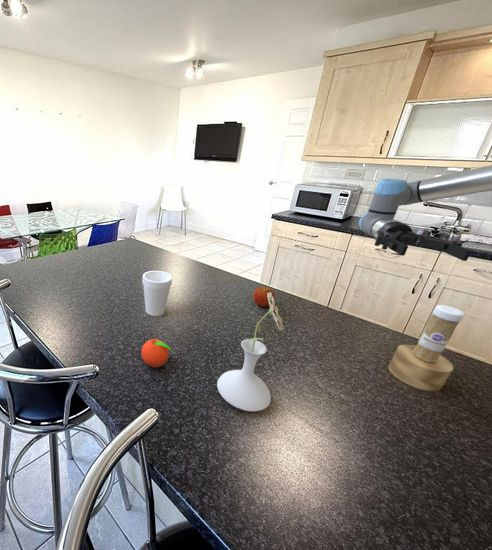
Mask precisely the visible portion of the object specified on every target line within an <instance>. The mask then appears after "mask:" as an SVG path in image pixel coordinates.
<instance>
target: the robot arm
mask: <svg viewBox="0 0 492 550" xmlns="http://www.w3.org/2000/svg"><path fill="white" fill-rule="evenodd" d="M491 191H492V164H490V165H485V166H481V167H476V168H471V169H468V170H461V171H458V172H452V173H449V174H444V175H439V176H434V177H430V178H426V179H425V178H424V179H422V180H421V179H420V180H416V181H412V182H408V181H407V180H406V179H400V178H381V179H380V180H379V182H378V183H377V185H376V187H375V189H374V193H373V196H372V199H371V202H370V206H369V208H368V210H367V213H364V215H362V216H361V217H360V218H359V220H358V227H359V229H360V230H361V231H362V232H363V233H365V234H367V235H368V236H371V237H373V239H374V240H375V242H374V246H376V247H380V245H381V250H386V251H387V250H388V249H389V250H391V251H392V252H395V253H396V254H397V255H400V256H405V255H406V253H407V250H408V248H409V246H411V247H417V248H420V247H424V248H427V249H433V250H436V251H442V252H445V254H447V255H449V256H451V257H454V258H456V259H458V260H460V261H463V262H467V261H468V259H469V257H470V256H471V253H472V250H470V249H467V248H465V247H463V246H464V245H463V243H461V242H458V241H457V240H454V241H452V240H449V239H444V238H440V237H436V236H433V235H430V234H427V233H425V234H420V233H416V232H415V231H413V229H412V227H411V226H410V225H409V224H406V223H404V222H401V221H400V220H397V219H395V216H396V214H397V212H398V210H399V207H400V206H410V205H413V204H419V203H424V202H425V203H426V202H431V201H437V200H442V199H448V198H454V197H462V196H467V195H473V194H479V193H487V192H491Z"/></svg>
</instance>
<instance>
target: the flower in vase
mask: <svg viewBox="0 0 492 550" xmlns="http://www.w3.org/2000/svg"><path fill="white" fill-rule="evenodd" d="M267 296H268V301H269V305H270V306H269V309H268V311H267V312H266V313H265V314H264V315H263V316H262V317H261V319H259V320H257V322H256V327H255V329H254V335H253V338H247V339H244V340H243V339H242V341H241V342H240V346H241V348H242V349H243V353H244V359H243V360H244V361H243V365H242V368H241V369H231V370H228V371H225V372H223V373H222V374H221V375H220V376H219V378H218V379H217V382H216V387H217V390H218V392H219V394H220V396H221V397H222V399H223V400H224V401H225V402H226V403H227V404H229V405H230V406H232V407H234V408H236V409H238V410H241V411H244V412H250V413H251V412H252V413H253V412H259V411H263V410H265V409H267V408H268V407H269V405H270V404H271V402H272V401H271V400H272V398H271V397H272V396H271V392H270V389H269V387H268V386H267V384H266V383H265V382H264V381H263V380H262V379H261V378H260V377H259V376H257V375H256V374H255V367H256V364H257V362H258V360H259V359H260V358H261V356H262V355H265V354H266V353H267V351H268V348H267V346H266V345H265V344H264V343H263V342H261V341H264V338H263V337H257V332H258V334H261V333H262V325H261V323H262V322H263V321H264V319H265V318H266V317H267V316H268V315H271V316H273V319H274V322H275V324H276V326H277V328H278V329H279V331H280V332H281V331H283V330H284V329H285V327H284V325H283V323H282V322H283V319H282V317H281V316H280V314H279V308H278V306H277V305H276V303H275V299H274V297H272V293H270V292H269V293H267Z"/></svg>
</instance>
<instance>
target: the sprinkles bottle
mask: <svg viewBox="0 0 492 550" xmlns="http://www.w3.org/2000/svg"><path fill="white" fill-rule="evenodd" d="M464 316H465V313H464V311H462V310H461V309H459V308H456V307H453V306H450V305H445V304H438V305H436V306H435V307H434V309H433V310H432V316H431V317H430V319H429V321H428V322H427V324H426V325H425V327H424V329H423V331H422V333H421V335H420V337H419V338H418V341H417V343H416V345H415V346H416V347H415V349H414V350H413V352H412V353H413V354H414V355H415V356H416V357H417V358H419V359H421V360H423V361H426V362H431V363H434V362H437V361H438V358H439V356H440V355H442V353H443V351H444V350H445V348H446V347H447V345H448V343H449V341H450V340H451V338H452V336H453V334H454V332H455V330H456V328H457V326H458V325H459V323H460V322H461V321H462V320H463V318H464Z"/></svg>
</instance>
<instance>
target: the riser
mask: <svg viewBox="0 0 492 550" xmlns="http://www.w3.org/2000/svg"><path fill="white" fill-rule="evenodd" d="M415 347H416V345H414V344H400V345H398V346H397V348H396V350H395V352H394V353H393V356H392V358H391V360H390V362H389V364H388V370H389V372H390V373H391V374H392V376H394V377H395V378H396V379H398V380H399V381H401V382H402V383H403V384H406V385H408V386H410V387H412V388H414V389H418V390H421V391H425V392H439V391H441V390H442V389H443V388H444V385H445V384H446V382H447V380H448V379H449V377H450V375H451V374H452V372H453V371H454V365H453V363H452V362H451V361H450V360H449V359H447V358H446V357H444V356H443V355H442V354H440V356H439V358H438V361H437V362H434V363H431V362H426V361H423V360H421V359H419V358H417V357H416V356H415V355H414V354H413V353H412V352H413V350H414V349H415Z"/></svg>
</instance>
